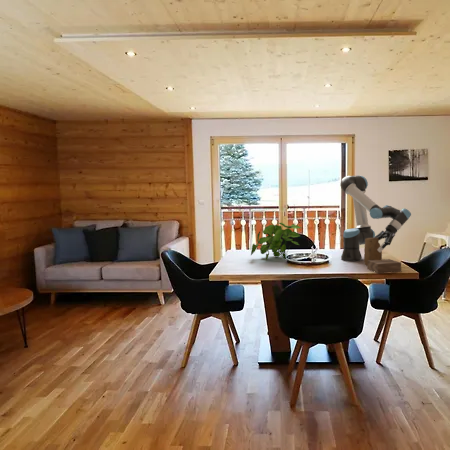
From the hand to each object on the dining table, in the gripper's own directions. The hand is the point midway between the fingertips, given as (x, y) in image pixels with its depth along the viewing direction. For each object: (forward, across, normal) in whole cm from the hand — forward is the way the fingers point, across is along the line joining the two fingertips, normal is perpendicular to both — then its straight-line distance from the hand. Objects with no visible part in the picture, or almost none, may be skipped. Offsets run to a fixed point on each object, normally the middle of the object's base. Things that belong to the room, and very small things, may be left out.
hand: (373, 249), depth 287 cm
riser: (+9, -15, -7) cm, 19 cm away
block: (+8, +1, -8) cm, 12 cm away
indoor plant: (+48, +45, +32) cm, 73 cm away
